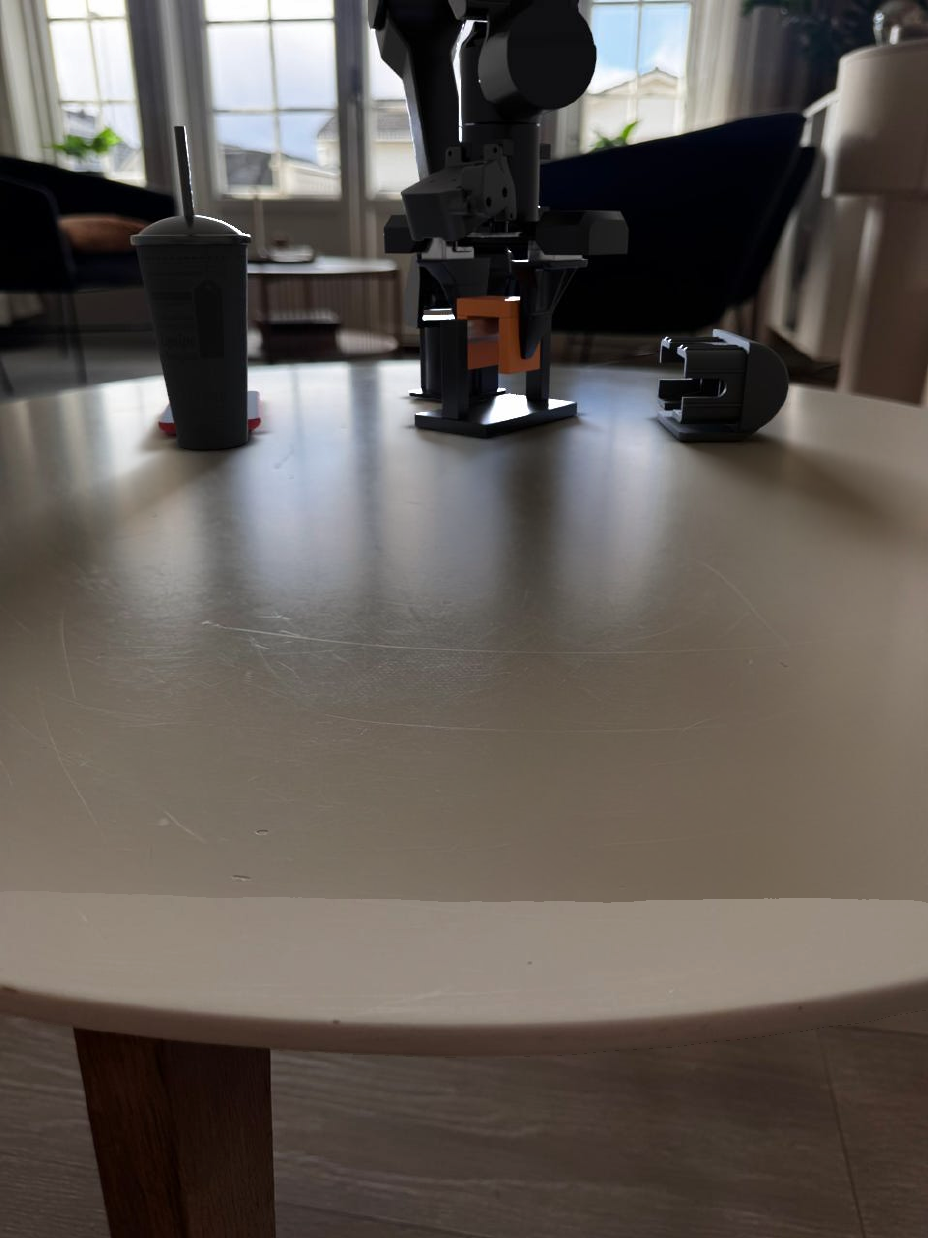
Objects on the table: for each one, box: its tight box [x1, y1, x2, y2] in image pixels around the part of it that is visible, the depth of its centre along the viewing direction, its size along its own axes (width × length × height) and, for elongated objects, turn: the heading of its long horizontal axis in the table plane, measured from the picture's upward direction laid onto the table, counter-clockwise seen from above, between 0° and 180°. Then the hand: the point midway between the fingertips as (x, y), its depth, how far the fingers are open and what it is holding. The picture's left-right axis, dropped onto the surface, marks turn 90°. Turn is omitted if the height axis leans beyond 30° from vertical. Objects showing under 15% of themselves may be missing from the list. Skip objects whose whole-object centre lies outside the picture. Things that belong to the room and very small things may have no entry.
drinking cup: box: [129, 125, 252, 451], centre depth 62 cm, size 8×8×20 cm
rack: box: [414, 317, 578, 439], centre depth 71 cm, size 7×12×8 cm, turn 141°
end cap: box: [656, 328, 790, 443], centre depth 68 cm, size 10×7×7 cm
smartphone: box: [158, 390, 262, 435], centre depth 75 cm, size 7×1×15 cm
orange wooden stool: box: [457, 296, 540, 375], centre depth 70 cm, size 5×4×5 cm
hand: (498, 356), depth 71 cm, fingers closed on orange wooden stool, 5 cm apart
